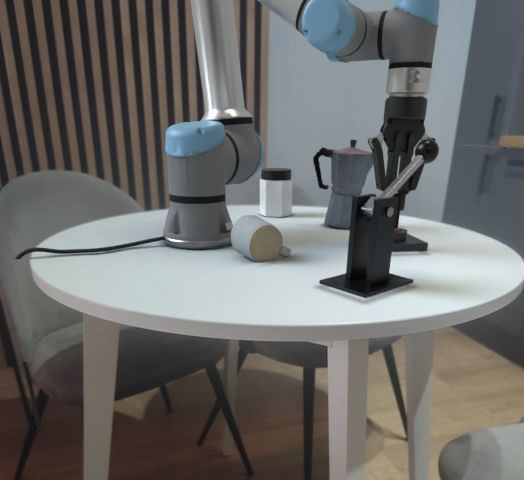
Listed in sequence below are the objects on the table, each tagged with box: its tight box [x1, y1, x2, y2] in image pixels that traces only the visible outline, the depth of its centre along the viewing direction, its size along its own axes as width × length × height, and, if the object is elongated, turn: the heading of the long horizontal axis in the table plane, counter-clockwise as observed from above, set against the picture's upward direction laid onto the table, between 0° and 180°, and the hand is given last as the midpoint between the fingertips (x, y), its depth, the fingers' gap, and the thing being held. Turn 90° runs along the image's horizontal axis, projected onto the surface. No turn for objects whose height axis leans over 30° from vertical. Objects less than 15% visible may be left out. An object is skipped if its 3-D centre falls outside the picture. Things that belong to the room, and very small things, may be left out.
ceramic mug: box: [231, 214, 292, 263], centre depth 92 cm, size 11×8×8 cm
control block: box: [392, 226, 429, 253], centre depth 101 cm, size 12×10×4 cm
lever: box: [361, 139, 440, 222], centre depth 75 cm, size 17×4×4 cm
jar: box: [259, 167, 294, 218], centre depth 136 cm, size 9×8×12 cm
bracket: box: [318, 193, 414, 299], centre depth 76 cm, size 12×9×14 cm
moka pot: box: [312, 139, 374, 230], centre depth 120 cm, size 10×15×20 cm, turn 89°
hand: (391, 227), depth 100 cm, fingers closed
